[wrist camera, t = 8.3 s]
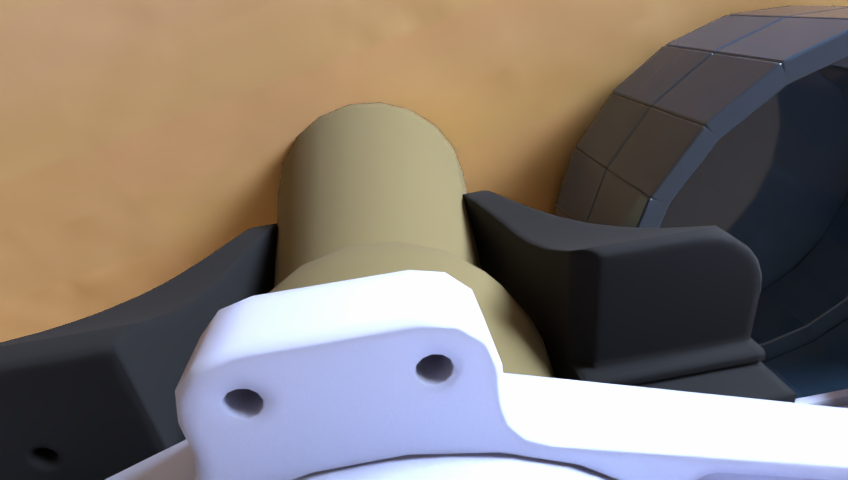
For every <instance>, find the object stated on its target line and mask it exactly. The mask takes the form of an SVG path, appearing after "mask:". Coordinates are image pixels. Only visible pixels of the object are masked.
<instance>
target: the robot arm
mask: <svg viewBox="0 0 848 480" xmlns="http://www.w3.org/2000/svg"><path fill="white" fill-rule="evenodd" d="M463 198H464V201H465V205H466V209H467V212H468V216H469V219H470V223H471V227H472V230H473V233H474V237H475V240H476V243H477V248H478V253H479V259H480V264H481V269H482V270H483V271H485V272H486V273H487V274H488V275H490V276H491V277H492V278H493V279H495V280H496V281H497V282H498V283H500V284H501V285H502V286H503V287H504V288H505V290H506V291H507V292H508V293H509V294H510V295H511V296H512V297H513V299H514V300H515V301H516V302H517V303H518V304H519V305H520V307H521V308H522V309H523V310H524V311H525V312H526V313H527V314H528V316H529V317H530V318H531V320H532V322H533V323H534V325H535V327H536V329H537V330H538V332H539V334H540V336H541V337H542V339H543V341H544V344H545V347H546V350H547V353H548V356H549V359H550V362H551V365H552V368H553V371H554V374H555V377H556V378H550V377H540V376H531V375H521V374H511V373H504V372H503V368H502V362H501V360H500V357H499V355H498V352H497V350H496V347H495V345H494V342H493V340H492V337H491V335H490V332H489V329H488V327H487V324H486V322H485V319H484V317H483V314H482V312H481V310H480V307H479V305H478V303H477V300H476V298H475V296H474V293H473V291H472V289H470V288H469V287H467V286H466V285H464V284H463V283H461V282H459V281H458V280H456V279H455V278H453V277H452V276H450V275H448V274H447V273H445V272H434V271H419V270H405V271H399V272H393V273H387V274H381V275H375V276H369V277H363V278H357V279H351V280H345V281H339V282H333V283H327V284H321V285H315V286H309V287H303V288H297V289H291V290H285V291H279V292H273V293H268V292H270V291H271V290H272V289H273V288H274V279H275V256H276V245H277V233H278V225H277V224H272V225H265V226H259V227H253V228H251V229H248V230H247V231H245V232H243V233H242V234H240V235H238V236H237V237H235V238H234V239H233V240H231V241H230V242H228V243H227V244H225V245H224V246H222V247H221V248H220V249H218V250H217V251H215V252H214V253H212V254H211V255H210V256H208V257H207V258H205V259H203V260H202V261H200V262H199V263H197V264H196V265H194V266H192V267H191V268H189V269H188V270H186V271H185V272H183V273H181V274H180V275H178V276H176V277H175V278H173V279H171V280H169V281H168V282H166V283H164V284H162V285H160V286H158V287H156V288H154V289H152V290H150V291H148V292H146V293H144V294H142V295H140V296H138V297H136V298H133V299H131V300H128V301H126V302H124V303H121V304H119V305H117V306H114V307H112V308H109V309H107V310H105V311H102V312H100V313H97V314H94V315H92V316H89V317H86V318H83V319H80V320H77V321H75V322H71V323H68V324H65V325H62V326H59V327H56V328H53V329H49V330H46V331H43V332H39V333H36V334H32V335H28V336H24V337H21V338H17V339H13V340H9V341H5V342H1V343H0V480H848V389H845V390H839V391H834V392H829V393H823V394H818V395H813V396H808V397H802V398H797V399H796V396H797V394H796V393H795V392H794V391H793V390H792V389H791V388H790V387H789V386H787V385H786V384H785V383H784V382H783V381H782V380H781V379H780V378H778V377H777V376H776V375H775V374H774V373H773V372H772V371H771V370H770V369H768V368H767V367H766V366H765V365H764V364H763V363H762V362H761V361H763V360H765V356H766V353H765V351H764V349H763V348H762V347H761V346H760V345H759V344H758V343H756V342H755V341H754V340H753V339H752V338H751V337H750V335H751V331H752V327H753V322H754V318H755V314H756V309H757V305H758V301H759V296H760V292H761V281H762V273H761V269H760V265H759V261H758V259H757V257H756V256H755V255H754V253H753V252H752V250H751V249H750V248H749V247H748V246H747V245H745V244H744V243H742V242H741V241H739V240H738V239H736V238H735V237H733V236H732V235H730V234H728V233H727V232H725V231H724V230H722V229H721V228H719V227H718V226H716V225H710V226H693V227H676V228H634V227H619V226H609V225H600V224H593V223H586V222H581V221H577V220H572V219H567V218H563V217H559V216H555V215H552V214H549V213H545V212H542V211H539V210H536V209H533V208H531V207H528V206H525V205H523V204H520V203H518V202H515V201H513V200H510V199H508V198H505V197H503V196H500V195H498V194H495V193H492V192H489V191H480V192H473V193H467V194H463Z"/></svg>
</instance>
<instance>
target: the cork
mask: <svg viewBox="0 0 848 480" xmlns="http://www.w3.org/2000/svg"><path fill="white" fill-rule="evenodd" d="M463 194H467V191H466V186H465V180H464V175H463V172H462V170H461V167H460V164H459V161H458V159H457V156H456V153H455V150H454V148H453V147H452V146H451V145H450V143H449V142H448V141H447V140H446V138H445V137H444V136H443V135H442V133H441V132H440V131H439V130H438V128H437V127H436V126H434V125H433V124H431V123H430V122H428V121H427V120H425V119H423V118H422V117H420V116H419V115H417V114H416V113H414V112H412V111H411V110H407V109H403V108H400V107H396V106H392V105H388V104H384V103H368V104H354V105H347V106H345V107H342V108H340V109H337V110H335V111H333V112H330V113H328V114H325V115H323V116H321V117H319V118H318V119H317V120H316V121H314V122H313V123H312V124H311V125H310V126H309V127H308V128H307V129H305V130H304V131H303V132H302V133H301V134H300V135H299V136H298V137H297V138H296V140H295V141H294V143H293V145H292V147H291V149H290V150H289V152H288V154H287V156H286V158H285V160H284V161H283V164H282V170H281V177H280V183H279V190H278V209H277V225H278V233H277V245H276V256H275V279H274V288H273V289H272V290H271V291H270V292H268V293H273V292H279V291H285V290H291V289H297V288H303V287H309V286H315V285H321V284H327V283H333V282H339V281H345V280H351V279H357V278H363V277H369V276H375V275H381V274H387V273H393V272H399V271H405V270H419V271H434V272H445V273H447V274H448V275H450V276H452V277H453V278H455V279H456V280H458V281H459V282H461V283H463V284H464V285H466V286H467V287H469V288H470V289H472V291H473V293H474V296H475V298H476V300H477V303H478V305H479V307H480V310H481V312H482V314H483V317H484V319H485V322H486V324H487V327H488V329H489V332H490V335H491V337H492V340H493V342H494V345H495V347H496V350H497V352H498V355H499V357H500V360H501V362H502V368H503V372H504V373H511V374H521V375H531V376H540V377H550V378H556V377H555V374H554V371H553V368H552V365H551V362H550V359H549V356H548V353H547V350H546V347H545V344H544V341H543V339H542V337H541V336H540V334H539V332H538V330H537V329H536V327H535V325H534V323H533V322H532V320H531V318H530V317H529V316H528V314H527V313H526V312H525V311H524V310H523V309H522V308H521V307H520V305H519V304H518V303H517V302H516V301H515V300H514V299H513V297H512V296H511V295H510V294H509V293H508V292H507V291H506V290H505V288H504V287H503V286H502V285H501V284H500V283H498V282H497V281H496V280H495V279H493V278H492V277H491V276H490V275H488V274H487V273H486V272H485V271H483V270H482V269H481V264H480V259H479V253H478V248H477V243H476V240H475V237H474V233H473V230H472V227H471V223H470V219H469V216H468V212H467V209H466V205H465V201H464V198H463Z"/></svg>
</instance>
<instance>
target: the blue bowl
mask: <svg viewBox="0 0 848 480" xmlns="http://www.w3.org/2000/svg"><path fill="white" fill-rule="evenodd" d="M556 216H559V217H563V218H567V219H572V220H577V221H581V222H586V223H593V224H600V225H609V226H619V227H634V228H676V227H693V226H710V225H716V226H718V227H719V228H721V229H722V230H724V231H725V232H727V233H728V234H730V235H732V236H733V237H735V238H736V239H738V240H739V241H741V242H742V243H744V244H745V245H747V246H748V247H749V248H750V249H751V250H752V252H753V253H754V255H755V256H756V257H757V259H758V261H759V265H760V269H761V273H762V281H761V292H760V296H759V301H758V305H757V309H756V314H755V318H754V322H753V327H752V331H751V335H750V337H751V338H752V339H753V340H754V341H755V342H756V343H758V344H759V345H760V346H761V347H762V348H763V349H764V351H765V353H766V356H765V360H763V361H761V362H762V363H763V364H764V365H765V366H766V367H767V368H768V369H770V370H771V371H772V372H773V373H774V374H775V375H776V376H777V377H778V378H780V379H781V380H782V381H783V382H784V383H785V384H786V385H787V386H789V387H790V388H791V389H792V390H793V391H794V392H795V393H796V394H797V396H796V399H797V398H802V397H808V396H813V395H818V394H823V393H829V392H834V391H839V390H845V389H848V6H783V7H776V8H769V9H762V10H755V11H748V12H741V13H734V14H730V15H726V16H723V17H721V18H719V19H717V20H715V21H713V22H711V23H709V24H707V25H705V26H703V27H701V28H699V29H697V30H695V31H693V32H691V33H689V34H687V35H685V36H683V37H680V38H678V39H676V40H674V41H672V42H670V43H668V44H667V45H666V46H664V47H662V48H661V49H660V50H659V51H658V52H656V53H655V54H654V55H653V56H652V57H651V58H650V59H648V60H647V61H646V62H645V63H644V64H643V65H642V66H641V67H639V68H638V69H637V70H636V71H635V72H634V73H633V74H631V75H630V76H629V77H628V78H627V79H626V80H625V81H624V82H622V83H621V84H620V85H619V86H618V87H617V88H616V89H614V90H613V93H612V94H611V95H610V96H609V97H608V99H607V100H606V102H605V103H604V105H603V106H602V108H601V109H600V111H599V112H598V114H597V115H596V117H595V118H594V120H593V121H592V123H591V124H590V126H589V127H588V128H587V130H586V131H585V133H584V134H583V136H582V137H581V139H580V140H579V142H578V143H577V145H576V148H574V150H573V153H572V156H571V159H570V162H569V165H568V168H567V171H566V174H565V177H564V180H563V183H562V186H561V189H560V192H559V195H558V198H557V201H556Z"/></svg>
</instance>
